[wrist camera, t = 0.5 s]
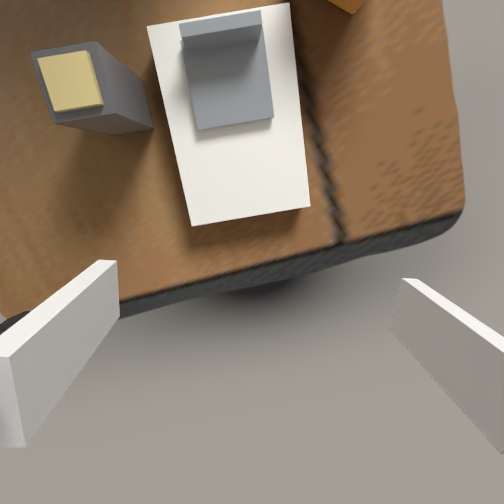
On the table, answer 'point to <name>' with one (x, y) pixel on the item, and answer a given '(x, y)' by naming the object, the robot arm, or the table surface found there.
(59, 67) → the plug
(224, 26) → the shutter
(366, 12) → the table surface
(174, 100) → the socket
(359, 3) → the small box
